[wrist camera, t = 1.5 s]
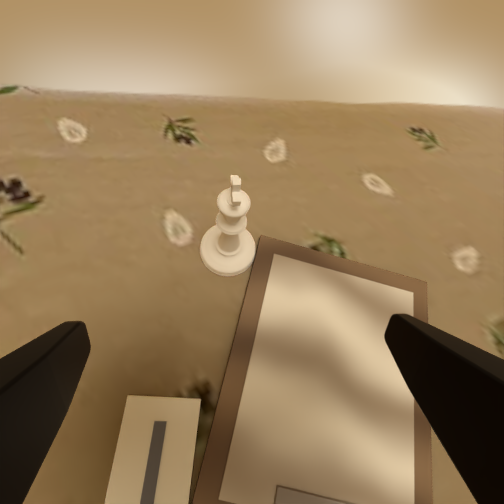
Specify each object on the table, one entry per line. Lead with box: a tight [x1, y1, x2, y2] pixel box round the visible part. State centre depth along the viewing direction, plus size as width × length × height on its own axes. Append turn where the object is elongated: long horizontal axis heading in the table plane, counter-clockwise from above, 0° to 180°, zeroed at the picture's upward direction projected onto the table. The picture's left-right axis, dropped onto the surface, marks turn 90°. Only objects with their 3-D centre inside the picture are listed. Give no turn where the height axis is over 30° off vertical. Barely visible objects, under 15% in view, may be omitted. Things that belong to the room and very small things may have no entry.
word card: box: [104, 395, 201, 504], centre depth 16 cm, size 8×5×1 cm, turn 176°
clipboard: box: [192, 235, 433, 504], centre depth 19 cm, size 20×16×1 cm
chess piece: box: [200, 175, 255, 276], centre depth 18 cm, size 5×5×10 cm
